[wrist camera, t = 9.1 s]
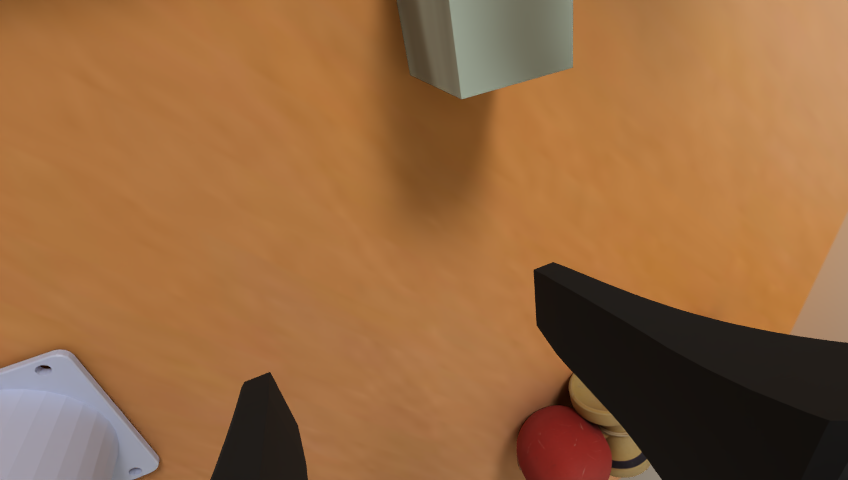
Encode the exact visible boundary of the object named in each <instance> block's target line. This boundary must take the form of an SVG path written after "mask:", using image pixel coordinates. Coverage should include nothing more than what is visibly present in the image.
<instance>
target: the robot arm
mask: <svg viewBox="0 0 848 480" xmlns="http://www.w3.org/2000/svg"><path fill="white" fill-rule="evenodd" d="M534 285H535V303H536V321H537V326H538V328H539V329H540V331H541V332H542V334H543V335H544V337H545V338H546V340H547V341H548V343H549V344H550V345H551V347H552V348H553V349H554V351H555V352H556V354H557V355H558V356H559V357H560V358H561V359H562V361H563V362H564V363H565V364H566V365H567V366H568V367H569V368H570V370H571V371H572V372H573V373H574V374H575V375H576V376H577V377H578V378H579V379H580V381H581V382H582V383H583V384H584V385H585V386H586V387H587V388H588V389H589V390H590V391H591V393H592V394H593V395H594V396H595V397H596V398H597V399H598V400H599V401H600V402H601V403H602V405H603V406H604V407H605V408H606V409H607V410H608V411H609V412H610V413H611V414H612V415H613V416H614V418H615V419H616V420H617V421H618V422H619V424H620V425H621V426H622V427H623V428H624V429H625V431H626V432H627V433H628V434H629V436H630V437H631V438H632V440H633V441H634V442H635V444H636V445H637V446H638V448H639V449H640V450H641V452H642V453H643V454H644V456H645V457H646V458H647V460H648V461H649V462H650V464H651V465H652V466H653V468H654V469H655V471H656V472H657V473H658V475H659V476H660V478H661V479H662V480H848V343H843V342H836V341H827V340H820V339H813V338H807V337H800V336H793V335H788V334H782V333H776V332H770V331H765V330H760V329H755V328H750V327H746V326H741V325H736V324H732V323H727V322H723V321H719V320H715V319H712V318H708V317H704V316H700V315H697V314H693V313H689V312H686V311H683V310H679V309H676V308H673V307H670V306H667V305H664V304H661V303H658V302H655V301H652V300H649V299H646V298H643V297H640V296H638V295H635V294H632V293H630V292H627V291H624V290H622V289H619V288H617V287H614V286H611V285H609V284H606V283H604V282H601V281H599V280H597V279H594V278H592V277H589V276H587V275H584V274H582V273H579V272H577V271H575V270H572V269H570V268H567V267H565V266H562V265H559V264H557V263H554V262H552V263H550V264H547V265H545V266H542V267H540V268H537V269H534ZM40 365H47V366H49V367H51V368H49V369H45V368H42V367H40ZM158 465H159V456H158V455H157V454H156V453H155V451H154V450H153V449H152V448H151V447H150V445H149V444H148V443H147V442H146V441H145V439H144V438H143V437H142V436H141V435H140V433H139V432H138V431H137V430H136V429H135V427H134V426H133V425H132V424H131V423H130V421H129V420H128V419H127V418H126V417H125V415H124V414H123V413H122V412H121V411H120V409H119V408H118V407H117V406H116V405H115V403H114V402H113V401H112V400H111V399H110V397H109V396H108V395H107V394H106V393H105V391H104V390H103V389H102V388H101V387H100V385H99V384H98V383H97V382H96V381H95V379H94V378H93V377H92V376H91V375H90V373H89V372H88V371H87V370H86V369H85V367H84V366H83V365H82V364H81V363H80V361H79V360H78V359H77V358H76V357H75V355H74V354H72V353H71V352H69V351H67V350H54V351H50V352H47V353H44V354H42V355H39V356H36V357H33V358H30V359H27V360H24V361H21V362H18V363H15V364H12V365H9V366H7V367H4V368H1V369H0V480H134V479H136V478H138V477H141V476H143V475H146V474H148V473H151V472H153V471H154V470H156V469H157V468H158ZM210 480H308V477H307V467H306V461H305V456H304V452H303V447H302V442H301V438H300V433H299V429H298V425H297V423H296V421H295V419H294V417H293V415H292V413H291V411H290V409H289V407H288V405H287V403H286V402H285V400H284V398H283V396H282V394H281V392H280V390H279V388H278V386H277V384H276V382H275V380H274V378H273V376H272V375H271V373H270V372H269V373H266V374H264V375H261V376H259V377H256V378H254V379H251V380H248V381H246V382H244V384H243V386H242V388H241V391H240V395H239V398H238V402H237V405H236V408H235V412H234V415H233V418H232V421H231V424H230V427H229V430H228V433H227V436H226V439H225V442H224V445H223V447H222V450H221V453H220V456H219V458H218V461H217V464H216V467H215V469H214V472H213V474H212V477H211V479H210Z"/></svg>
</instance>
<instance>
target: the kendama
mask: <svg viewBox="0 0 848 480" xmlns="http://www.w3.org/2000/svg"><path fill="white" fill-rule="evenodd" d="M569 393H570V398H571V402H572V405H573V407H574V408H572V407H568V406H562V405H554V406H548V407H545V408H542V409H540V410H538V411H536V412H535V413H533V414H532V415H531V416H530V417H529V418H528V419H527V420H526V421H525V423H524V424H523V426H522V427H521V429H520V432H519V435H518V438H517V461H518V466H519V469H520V470H521V471H522V473H523V474H524V476H525V478H526V480H608V479H609V476H610V475H611V476H614V477H633V476H636V475H639V474H641V473H642V472H644V471H645V470H647V468H648V467H649V466H650V462H649V461H648V460H647V458H646V457H645V456H644V454H643V453H642V452H641V450H640V449H639V448H638V446H637V445H636V444H635V442H634V441H633V440H632V438H631V437H630V436H629V434H628V433H627V432H626V431H625V429H624V428H623V427H622V426H621V425H620V424H619V422H618V421H617V420H616V419H615V418H614V416H613V415H612V414H611V413H610V412H609V411H608V410H607V409H606V408H605V407H604V406H603V405H602V403H601V402H600V401H599V400H598V399H597V398H596V397H595V396H594V395H593V394H592V393H591V391H590V390H589V389H588V388H587V387H586V386H585V385H584V384H583V383H582V382H581V381H580V379H579V378H578V377H577V376H576V375H575V374H574V373H573V374H572V376H571V378H570V381H569Z"/></svg>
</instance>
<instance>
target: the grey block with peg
mask: <svg viewBox="0 0 848 480" xmlns="http://www.w3.org/2000/svg"><path fill="white" fill-rule="evenodd" d="M397 6H398V11H399V17H400V22H401V27H402V33H403V38H404V44H405V49H406V55H407V60H408V66H409V71H410V75H412V76H414V77H416V78H418V79H420V80H422V81H424V82H426V83H428V84H430V85H433V86H435V87H437V88H439V89H441V90H443V91H445V92H447V93H449V94H452V95H454V96H456V97H458V98H460V99H465V98H468V97H472V96H475V95H479V94H482V93H486V92H489V91H493V90H496V89H500V88H503V87H507V86H510V85H514V84H517V83H521V82H524V81H527V80H531V79H534V78H538V77H541V76H545V75H548V74H552V73H555V72H559V71H562V70H566V69H569V68H573V0H397Z"/></svg>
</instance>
